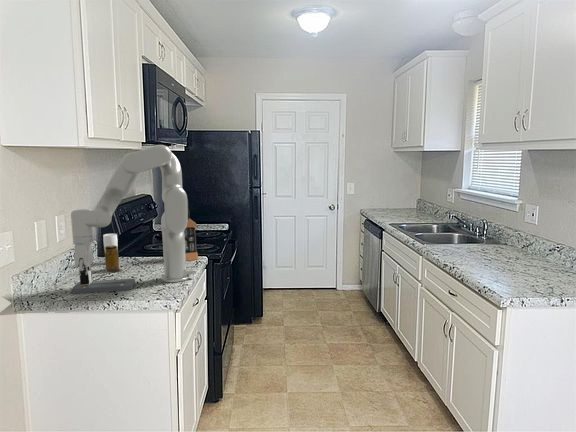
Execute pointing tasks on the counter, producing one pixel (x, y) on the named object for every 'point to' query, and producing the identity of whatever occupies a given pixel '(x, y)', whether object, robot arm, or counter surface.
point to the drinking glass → (110, 240)
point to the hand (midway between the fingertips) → (86, 281)
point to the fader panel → (104, 286)
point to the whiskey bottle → (190, 240)
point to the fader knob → (89, 277)
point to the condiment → (112, 259)
